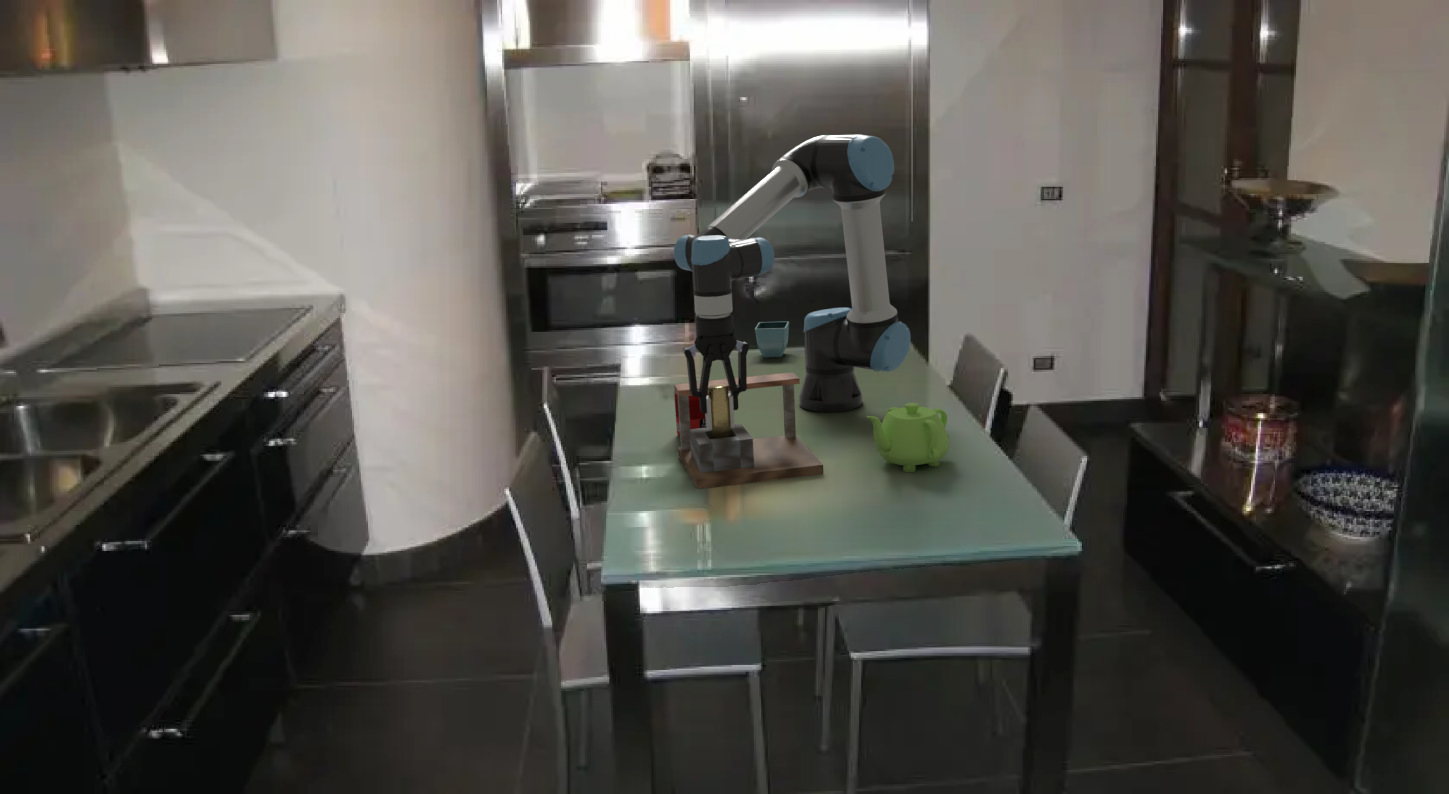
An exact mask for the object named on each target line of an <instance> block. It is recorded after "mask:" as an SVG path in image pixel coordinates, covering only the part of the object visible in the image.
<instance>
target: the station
mask: <svg viewBox="0 0 1449 794" xmlns="http://www.w3.org/2000/svg"><path fill="white" fill-rule="evenodd" d="M734 378H735V382H736V386H737V385H738V377H734ZM716 384H723V385H727V386H728V392H731V391H730V388H729V385H728V381H727V378H724V379H714V380H709V384H708V387H709V386H711V385H716ZM799 384H800V377H798V376H797V374H795V373H794V372H792V371H791V372H782V373H774V374H773V373H772V374H764V375H761V374H760V375H753V376H747V389H746V390H753V389H754V390H755V389H761V388H762V389H763V388H770V387H782V400H783V401H782V402H783V406H782V407H783V429H784V435H775V436H767V437H759V438H758V437H757V438H753V437H752V435H750V433H749V432H748V430H746V428H745V427H744V426H743V424H742V423H736V424H735V423H734V425H735V427H730V435H731V437H726V438H717V439H711V430H708V428H698V429H690V415H689V399H688V395H692V394H691V393H690V388H689V382H684V383H674V384H673V388H674V389H673V390H675V391H676V393H677V396H678V412H679V427H680V437H679V439H680V441H679V442H680V446H678V447H677V448H678V449H677V450H678V451H677V452H678V457H679V459H680V461H681V463H682V464H683V466H684V468H685V470H686V472H687V473H688V476H689V477H690V479H691V480H692V483H693V484H694V485H695V488H696V489H697V490H698V489H708V488H715V487H716V488H717V487H725V486H732V485H733V486H734V485H740V484H741V485H743V484H750V483H757V482H765V481H766V482H767V481H768V482H769V481H774V480H775V481H776V480H784V479H785V480H786V479H794V478H800V477H810V476H817V475H818V476H819V475H824V464H823V463H822V462H821V461H820V460H819V458H818V457H817V456H816V455H815V454H814V453H813V452H812V451H811V450H810V448H808V446H807V445H806V444H805V443H804V442H803V441H802V440H801V438H799V436H797V435H796V434H797V432H796V430H797V429H796V427H797V426H796V409H795V408H796V406H795V405H796V403H795V401H796V399H795V385H799ZM699 387H700V381H697V390H699ZM707 393H708V391H707Z"/></svg>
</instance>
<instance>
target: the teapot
mask: <svg viewBox="0 0 1449 794" xmlns="http://www.w3.org/2000/svg"><path fill="white" fill-rule="evenodd" d="M939 414H940V415H939ZM866 418H868V420H870V421H871V423H872V426H873V430H872V431H873V433H872V434H873V441H874V443H875V445H876V450H877V452H878V454H879V455H880V456H881V457H882V458H883V459H884V460H886V461H885V462H884V463H885V464H888V465H895V464H896V465H898V466H903V467H902V468H903V469H902V471H903V472H906V473H913V472H915V471H916V466H920V465H926V464H927V465H928V466H930V467H938V466H941V463H940V462H939V460H942V459H943V458H944V457H945V455H946V454H947V452H948V450H949V443H950V442H949V434H948V432H947V430H946V426H947V423H948V415H947V413H946V411H945V410H943V409H941V408H938V407H937V408H932V409H931V408H928V407H925V406H920V404H919V403H916V402H907V403H905V404H904V407H895V406H894V407H890V408H888V409H887V410H886V412H885V416H884V418H883V420H882V422H881V419H879V417H877V416H872V415H867V416H866Z"/></svg>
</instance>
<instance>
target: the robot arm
mask: <svg viewBox="0 0 1449 794" xmlns="http://www.w3.org/2000/svg"><path fill="white" fill-rule="evenodd" d="M894 173H895V161H894V156H893V153H892V150H891V149H890V147H889V145H888V144H887V143H886V142H884V140H883V139H882V138H880V137H877V136H875V135H866V134H861V133H860V134H839V135H838V134H835V135H834V134H833V135H832V134H822V135H818V136H814V137H812V138H809V139H807V140H805V141H803V142H801V143H799V144H798V145H796V146H794V147H793V148H792V149H790V150H788V152H786V153H785V154H783V155H782V156H781V157H780V158H778V159H777V160H776V161H775V162H774V164H773V165H772V168H771V171H770V172H769V173H768V174H767V175H765V176H764V177H763V178H762V179H761V180H760V181H758V182H757V183H756V184H755V185H754V186H752V187H751V188H750V189H749V190H748V191H747V192H745V194H743V195H742V196H741V197H740V198H739V199H738V200H736V201H735V202H734V203H733V204H732V205H730V207H728V208H727V209H726V210H725V211H723V212H722V214H720V215H718V217H717V218H716V219H714V220H713V221H712V222H710V224H708V225H707V226H706V227H704V229H702V230H701V231H700V232H699V233H698V234H687V235H686V234H685V235H682V236H681V237H679V238H678V239H677V241H676V242H675V244H674V247H673V257H674V261H675V263H676V265H677V266H678V268H680V269H682V270H685V271H690V272H692V282H693V297H694V313H695V314H696V317H695V334H696V338H695V339H694V343H693V344H692V345H690V346H688V347H686V346H685V347H683V348H682V353H683V354H684V357H685V358H686V368H687V376H688V377H687V378H688V383H689V388H690V393H691V394H692V396H694V397H699V400H700V411H701V412H702V414H704V413H705V417H706V427H707V428H708V430H712V417H711V400H710V398H709V396H708V395H707V391H708V384H709V381H710V377H711V376H710V375H711V370H712V364H713V362H715V361H721V362H722V365H723V369H724V372H725V376H726V379H727V381H728V385H729V388H730V391H729V392H730V393H729V392H728V398H729V417H730V427H735V411H738V409H739V395H740V393H742V392H746V391H747V390H748V389H747V377H748V376H747V356H748V352H749V349H750V345H749V344H748V343H747V342H746V341H740V340H737V338H736V336H735V332H734V316H733V315H732V312H733V310H734V308H733V293H732V292H733V290H732V282H733V281H738V280H741V279H747V278H751V277H758V276H760V275H762V274H767V273H768V272H769V271H770V270H771V269H772V268H773V266H774V264H775V251H774V247H773V246H772V244H771V243H770V242H769V240H767V239H765V238H763V237H751V235H753V234H754V233H755V232H756V231H757V230H758V229H759V228H761V227H762V226H763V225H765V223H767V222H768V220H769V219H772V217H773V216H774V215H776V213H778V212H779V211H780V210H781V209H782V208H784V207H785V206H786V205H787V204H788V203H790V201H792V200H793V199H794V198H802V197H803V196H804V195H805V194H806V193H808V192H809V191H812V190H815V189H822V188H823V189H824V188H825V189H831V192H832V193H831V194H832V201H833V202H834V203H836V204H837V205H838V206H839V207H840V209H841V210H840V211H841V212H840V213H841V220H842V228H843V238H844V247H845V255H846V256H845V257H846V263H847V264H846V265H847V274H848V275H847V276H848V280H849V281H848V282H849V283H848V284H849V291H850V301H851V307H832V308H827V309H820V310H816V311H812V312H809V313H808V314H807V315H806V316H805V317H804V322H803V323H804V324H803V331H802V332H803V341H804V342H803V344H804V346H803V347H804V363H805V364H804V365H805V376H804V377H803V382H802V384H801V385H802V386H801V389H800V393H799V395H798V396H799V406H800V407H801V408H802V409H805V410H806V411H813V412H819V413H835V412H843V411H844V412H845V411H849V410H853V409H856V408H859V407H860V406H861V405H862V404H863V394H862V390H861V388H860V385H859V382H858V379H857V377H856V373H855V368H860V369H866V370H869V371H874V372H886V373H887V372H888V373H889V372H892V371H895V370H897V369H898V368H899V367H900V366H901V365H902V364H903V363H904V361H905V360H906V357H907V356H908V354H909V351H910V346H911V338H912V337H911V330H910V328H909V327H908V326H907V325H906V324H905V323H903V322H902V321H899V317H898V310H897V308H895V306H893V305H892V304H891V301H890V293H889V285H888V284H889V283H888V274H887V263H886V255H885V245H884V243H885V242H884V234H883V225H882V214H881V203H880V202H881V200H882V199H883V198H884V197H885V196H886V188H888V187H889V186H890V184H891V183H892V180H893V176H894ZM735 347H736V351H737V352H738V353H737V364H738V365H737V367H738V368H737V374H738V375H737V378H738V385H737V386H736V382H735V378H736V377H735V375H734V372H733V371H734V370H733V367H732V363H731V358H730V356H731V353H732V352H733V351H734V349H735ZM696 351H698V352H699V353H700V355H701V356H702V357H703V358H702V367H701V374H700V381H699V382H700V387H699V390H697V382H698V381H697V373H696V363H695V362H696V361H695V358H694V357H696V355H697V354H696Z"/></svg>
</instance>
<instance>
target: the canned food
mask: <svg viewBox="0 0 1449 794" xmlns="http://www.w3.org/2000/svg"><path fill="white" fill-rule="evenodd" d="M673 390H674V389H673ZM673 393H674V411H675V423H676V424H675V425H676V434H677V436H678V438H680V427H679V412H678V396H677V393H676V391H675V390H674V392H673ZM707 395H708V396H709V393H707ZM688 399H689V415H690V429H698V428H707V427H706V417H705V413H704V414H702V412H701V411H700V400H699V397H694V396H692V395H688Z"/></svg>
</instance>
